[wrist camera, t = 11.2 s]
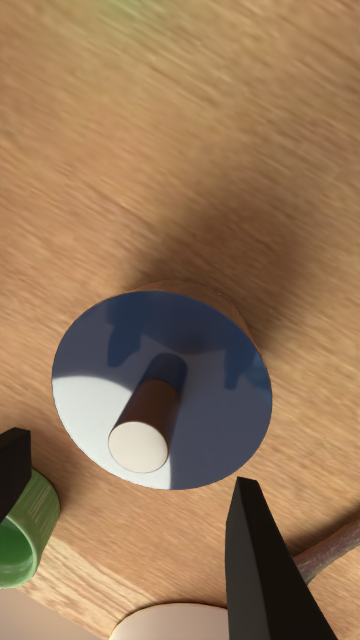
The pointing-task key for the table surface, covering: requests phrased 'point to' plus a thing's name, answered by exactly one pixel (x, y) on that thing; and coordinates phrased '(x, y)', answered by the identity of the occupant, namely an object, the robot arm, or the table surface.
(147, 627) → the bowl
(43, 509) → the ramekin
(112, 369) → the lid
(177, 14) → the table surface
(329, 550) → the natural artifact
